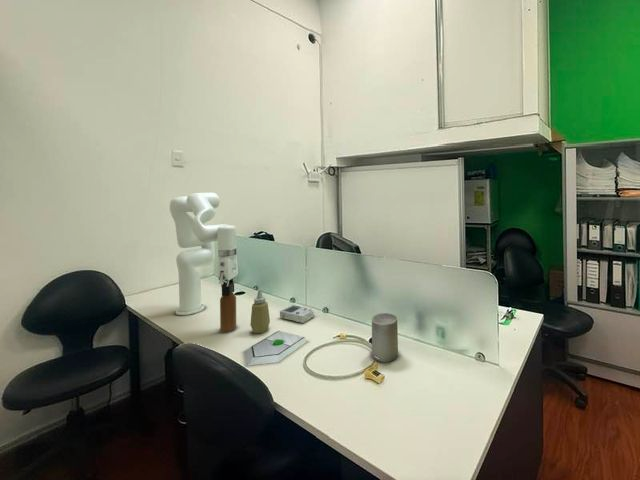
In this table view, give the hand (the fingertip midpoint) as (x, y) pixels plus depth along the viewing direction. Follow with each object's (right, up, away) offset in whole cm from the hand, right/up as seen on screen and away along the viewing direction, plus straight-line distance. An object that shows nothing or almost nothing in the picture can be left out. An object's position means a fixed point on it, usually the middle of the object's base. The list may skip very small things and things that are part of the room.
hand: (228, 293), depth 133 cm
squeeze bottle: (+15, -16, -2) cm, 22 cm away
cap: (0, +1, 0) cm, 1 cm away
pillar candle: (+70, -15, -23) cm, 76 cm away
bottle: (0, -16, 0) cm, 16 cm away
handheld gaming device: (+28, -16, +11) cm, 34 cm away
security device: (+26, -16, -18) cm, 36 cm away
